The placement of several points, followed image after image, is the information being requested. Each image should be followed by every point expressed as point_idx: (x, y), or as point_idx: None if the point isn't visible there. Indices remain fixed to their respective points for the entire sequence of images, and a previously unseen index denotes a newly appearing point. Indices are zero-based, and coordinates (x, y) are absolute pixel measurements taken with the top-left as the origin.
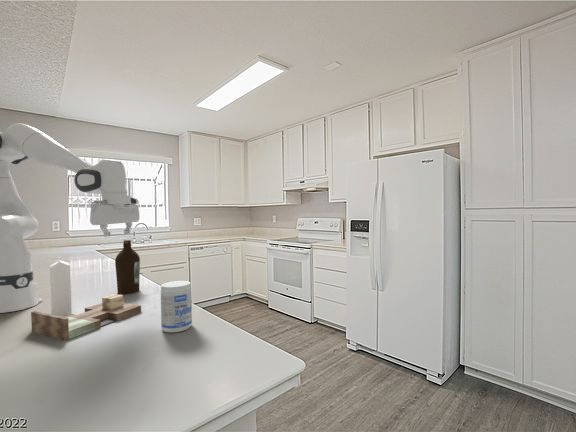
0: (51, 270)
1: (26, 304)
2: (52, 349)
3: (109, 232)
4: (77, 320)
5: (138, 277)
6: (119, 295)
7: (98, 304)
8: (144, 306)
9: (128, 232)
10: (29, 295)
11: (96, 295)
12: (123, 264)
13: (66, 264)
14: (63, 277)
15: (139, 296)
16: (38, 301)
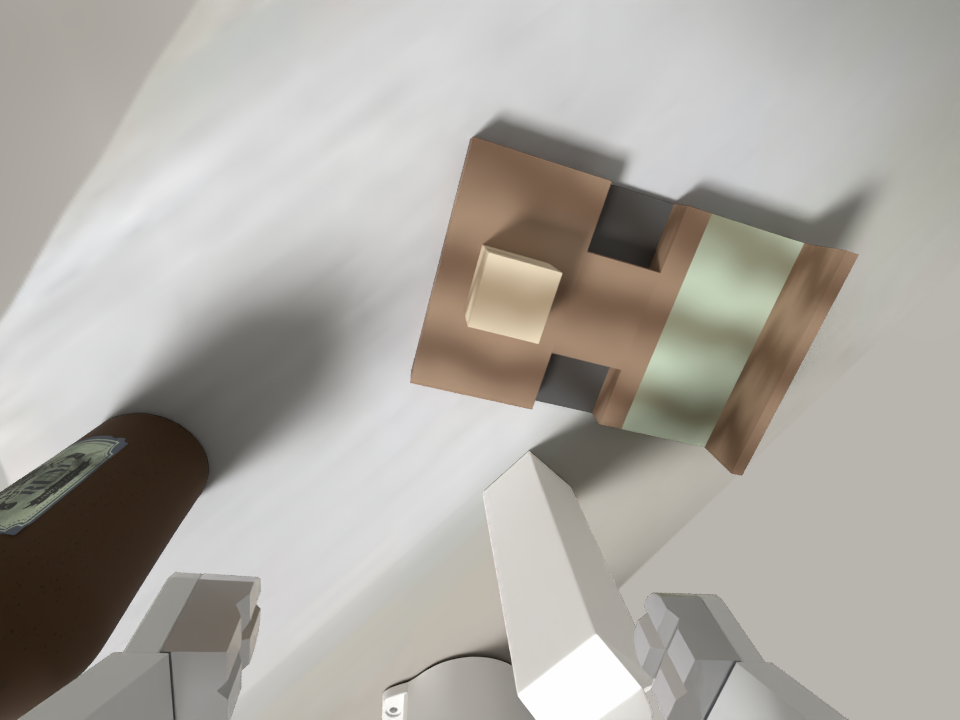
0: None
1: (478, 673)
2: (861, 224)
3: (703, 644)
4: (689, 307)
5: (64, 456)
6: (494, 272)
7: (476, 388)
8: (382, 181)
9: (220, 588)
10: (463, 709)
11: (261, 563)
12: (102, 574)
13: (610, 651)
14: (595, 589)
15: (217, 337)
16: (410, 685)
